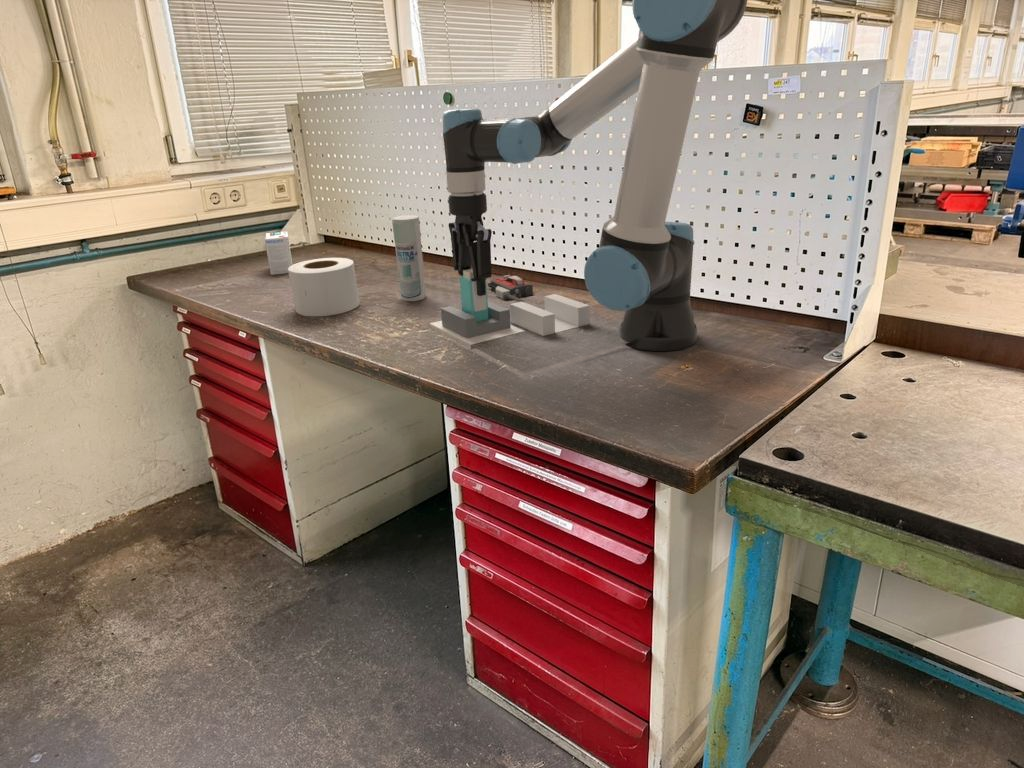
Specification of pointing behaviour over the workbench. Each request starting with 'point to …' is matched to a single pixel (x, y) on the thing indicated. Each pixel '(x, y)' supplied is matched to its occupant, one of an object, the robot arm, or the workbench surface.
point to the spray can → (409, 257)
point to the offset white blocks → (550, 315)
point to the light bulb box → (278, 252)
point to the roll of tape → (324, 286)
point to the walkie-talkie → (510, 287)
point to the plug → (471, 296)
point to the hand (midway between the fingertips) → (474, 307)
